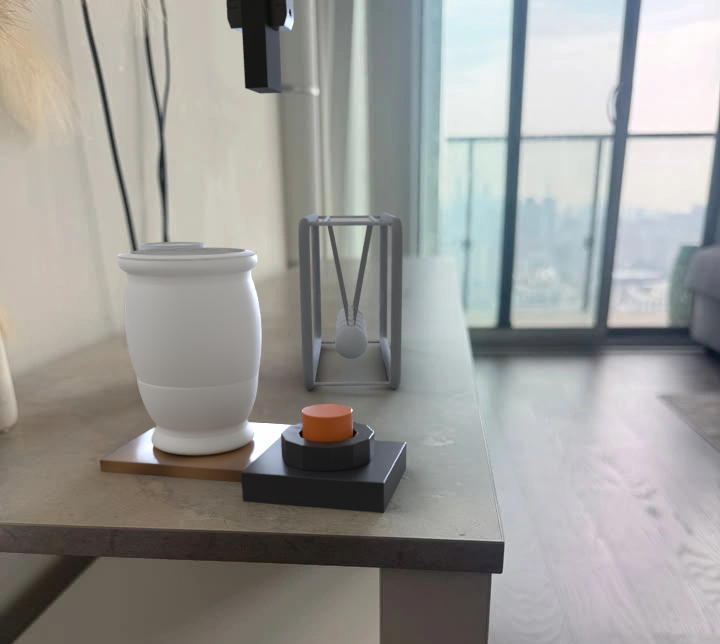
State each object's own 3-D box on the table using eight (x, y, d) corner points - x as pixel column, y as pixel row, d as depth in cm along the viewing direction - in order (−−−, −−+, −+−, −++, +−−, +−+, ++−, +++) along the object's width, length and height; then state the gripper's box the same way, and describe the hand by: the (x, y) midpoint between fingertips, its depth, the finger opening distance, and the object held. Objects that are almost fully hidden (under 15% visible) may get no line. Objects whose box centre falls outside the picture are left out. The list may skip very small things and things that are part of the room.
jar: (270, 458, 58) (260, 255, 52) (131, 466, 56) (106, 257, 51) (264, 420, 67) (254, 245, 62) (145, 426, 66) (125, 248, 61)
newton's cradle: (314, 343, 108) (310, 212, 102) (386, 342, 108) (387, 212, 102) (303, 394, 80) (297, 218, 74) (400, 393, 80) (403, 217, 74)
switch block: (242, 502, 52) (238, 447, 51) (283, 460, 60) (281, 412, 59) (383, 513, 50) (384, 457, 48) (406, 468, 58) (407, 419, 57)
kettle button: (296, 443, 52) (295, 415, 52) (310, 429, 56) (309, 402, 55) (346, 447, 52) (345, 418, 51) (357, 432, 55) (357, 404, 54)
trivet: (100, 471, 58) (98, 459, 58) (170, 428, 69) (169, 417, 68) (246, 483, 55) (246, 470, 55) (295, 435, 66) (295, 424, 66)
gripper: (89, -449, 37) (141, 86, 45) (345, -501, 34) (349, 78, 43) (160, -349, 44) (193, 100, 52) (378, -386, 41) (376, 94, 50)
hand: (263, 90), depth 47 cm, fingers closed
